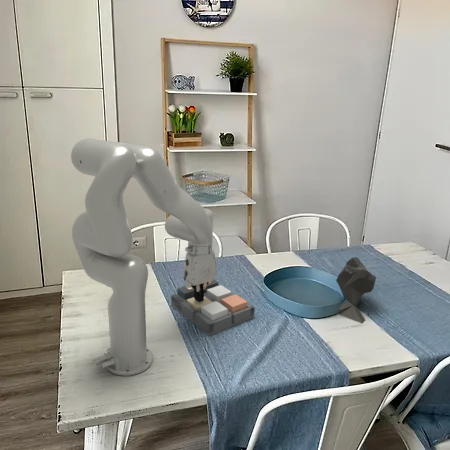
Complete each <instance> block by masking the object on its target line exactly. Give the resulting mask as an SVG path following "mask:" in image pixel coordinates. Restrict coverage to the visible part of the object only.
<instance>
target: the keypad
mask: <svg viewBox="0 0 450 450" xmlns="http://www.w3.org/2000/svg"><path fill="white" fill-rule="evenodd" d="M219 285H220V284H219V281H217V280H215V279H214V280H212V281H211V282H209V283H208V284H207V286H206V289H205V290H204V296H205V297H206V298H208V299H209V300H210V301H212V302H215V301H213V300H212V299H210V298H209V297H208V296H207V289H210V288H213V287H216V286H219ZM176 291H177V293H174V294H171V296H170V297H171V298H170V299H171V300H170V302H171V303H170V306H171V307H172V308H173V309H175V310H176V311H177V312H178V313H180V314H181V315H182V316H184V317H185V318H186V319H187V320H189V321H190V322H191V323H193V324H194V325H195V326H197V328H199V329H200V330H201V331H202V332H204V334H206V335H208V337H211V336H213V335H215V334H218V333H220V332H223V331H226V330H227V329H230V328H232V327H235V326H238V325H240V324H242V323H245V322H247V321H249V320H250V321H251V320H252V319H254V317H255V306H253V305H252V304H251V303H249V302H247V308H245V309H243V310H240V311H238V312H235V313H233V314H232V313H231V312H230V311H228V315H227V316H225V317H222V318H220V319H217V320H215V321H211V320H209V319H208V318H207V317H205V316H204V315H203V314H201V309H199V310H196V309H195V308H193V307H192V306H191V305H189V304H188V303H187V299H190V298H193V297H194V289H193V288H186V287H185V286H180V287H178V288H177V290H176ZM232 295H235V293H233V292H232ZM219 303H220V304H221V302H219Z"/></svg>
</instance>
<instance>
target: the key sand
mask: <svg viewBox="0 0 450 450" xmlns="http://www.w3.org/2000/svg"><path fill="white" fill-rule="evenodd" d="M187 303H188V304H189V305H191V306H192V307H193V308H195V309H196V310H199V309H201V306H204V305H207V304H209V303H212V301H210V300H209V299H208V298H206V297H205V296H204V301H201V302H198V301H196V300H195V299H194V297H193V298H190V299H187Z"/></svg>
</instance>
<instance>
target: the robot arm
mask: <svg viewBox="0 0 450 450" xmlns="http://www.w3.org/2000/svg"><path fill="white" fill-rule="evenodd" d="M70 160H71V163H72V165H73V167H74V168H75V169H76V170H77V171H78V172H80V173H81V174H84V175H88V176H92V177H94V178H93V180H92V182H91V184H90V185H89V188H88V190H87V191H86V194H85V198H84V207H85V210H86V211H84V212H82V213H79V215H77V217H76V218H75V220H74V221H73V223H72V224H73V225H72V227H71V237H72V242H73V245H74V248H75V250H76V252H77V255H78V258H79V261H80V263H81V265H82V268H83V270H84V273H86V275H87V276H88V277H89V278H90V279H91V280H93V281H95V282H97V283H100V284H102V285H104V286H106V287H108V288H111V290H112V294H111V296H110V298H109V300H108V303H107V314H108V316H107V317H108V329H109V330H108V332H109V343H110V347H108V348H106V352H105V353H103V355H100V356H98V357H95V358H93V359H92V362H93V364H94V367H97V366H99V365H101V367H102V369H105V368H106V369H107V370H108V371H109V372H110V373H112V374H114V375H118V376H125V377H127V376H134V375H137V374H138V375H139V374H140V373H142V372H144V371H146V370H147V369H148V368H150V366H151V365H152V363H153V360H154V359H153V352H152V350H151V349H149V348H148V347H147V345H148V344H147V324H146V323H147V321H146V320H147V319H146V292H147V291H146V290H147V289H146V288H147V283H148V280H149V279H148V278H149V268H148V266H147V264H146V262H145V261H144V260H143V259H142V258H139V257H138V256H136V255H134V254H132V253H130V251H131V250H132V248H133V243H134V241H133V240H134V239H133V238H134V237H133V233H132V229H131V226H130V222H129V218H128V215H127V212H126V207H125V204H124V203H125V202H124V194H125V190H126V188H127V185H129V184H128V183H129V182H130V180H131V179H132V178H133V179H134V180H136V181H137V183H138V185H139V186H140V187H141V188H142V190H143V192H144V194H146V196H147V198H148V199H149V201H150V202H151V204H152V205H153V206H155V207H156V208H157V209H159V210H161V211H162V212H164V213H166V214H168V215H169V216H168V217H167V218H166V220H165V223H164V230H165V232H166V233H167V234H168V235H169V236H170V237H173V238H175V239H177V240H178V239H180V240H182V241H186V242H188V243H187V247H184V248H185V249H184V250H185V252H186V253H185V259H184V262H183V263H184V264H183V265H184V266H183V280H184V286H185V287H186V288H193V289H194V299H195V300H196V301H198V302H201V301H204V290H205V289H206V286H207V284H208V283H209V282H211V281H212V280H215V279H216V278H217V260H216V259H217V258H216V252H215V250H214V249H213V240H214V239H213V233H214V213H213V211H212V210H211V209H209V208H205V207H203V206H202V205H201V204H200V203H199V202H198V201H197V200H196V199H194V198H193V197H192V196H191V195H190V194H189V193H188V192H186V190H184V189H183V188H181V187H180V186H179V184H178V183H177V181H176V179H175V178H174V175H173V173H172V172H171V170H170V168H169V167H168V165H167V163H166V161H165V160H164V158H163V156H162V153H161V152H159V151H158V150H157V149H155V148H154V147H152V146H149V145H144V144H143V145H142V144H137V143H130V142H129V143H128V142H122V141H121V142H119V141H109V140H103V139H95V138H83V139H80V140H79V141H77V142H76V143H75V144H74V146H73V147H72V150H71V153H70Z"/></svg>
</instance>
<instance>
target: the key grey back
mask: <svg viewBox="0 0 450 450" xmlns="http://www.w3.org/2000/svg"><path fill="white" fill-rule="evenodd" d="M232 293H233V292H232V291H231V290H229V288H226V287H225V286H223V285H221V284H219V286H216V287H213V288H210V289H207V296H208V297H209V298H210V299H212V300H213V301H217V302H218V303H219V302H221V299H223V298H226V297H229V296H232Z"/></svg>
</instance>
